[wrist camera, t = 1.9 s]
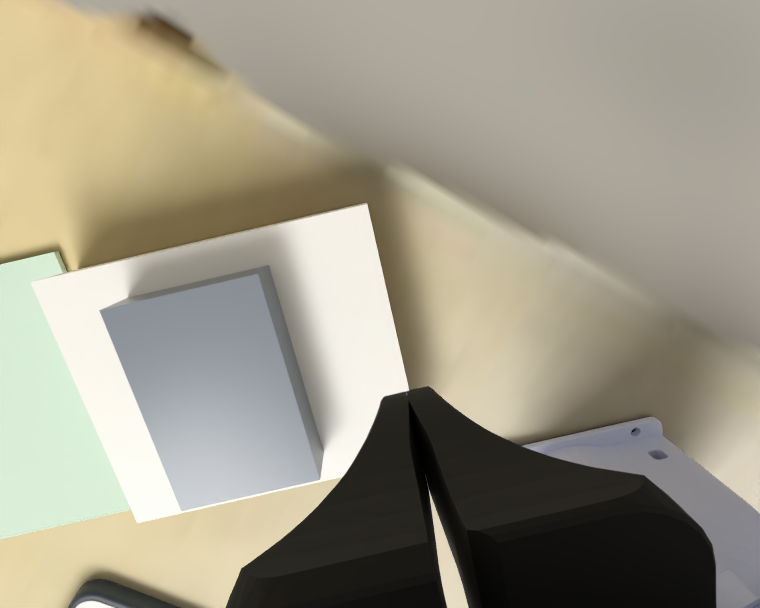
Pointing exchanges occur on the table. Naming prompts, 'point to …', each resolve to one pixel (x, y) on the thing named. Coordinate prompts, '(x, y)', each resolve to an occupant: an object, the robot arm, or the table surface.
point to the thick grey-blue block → (218, 387)
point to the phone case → (113, 597)
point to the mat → (44, 418)
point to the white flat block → (302, 316)
